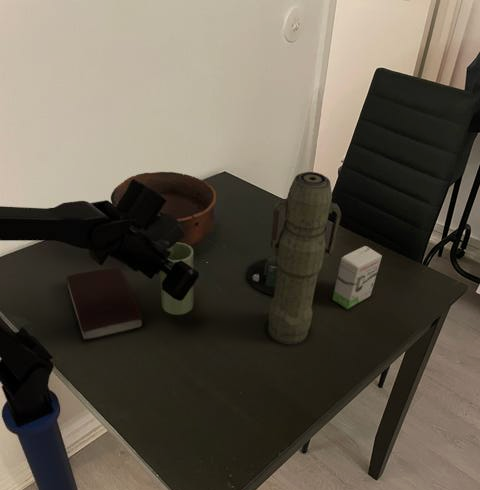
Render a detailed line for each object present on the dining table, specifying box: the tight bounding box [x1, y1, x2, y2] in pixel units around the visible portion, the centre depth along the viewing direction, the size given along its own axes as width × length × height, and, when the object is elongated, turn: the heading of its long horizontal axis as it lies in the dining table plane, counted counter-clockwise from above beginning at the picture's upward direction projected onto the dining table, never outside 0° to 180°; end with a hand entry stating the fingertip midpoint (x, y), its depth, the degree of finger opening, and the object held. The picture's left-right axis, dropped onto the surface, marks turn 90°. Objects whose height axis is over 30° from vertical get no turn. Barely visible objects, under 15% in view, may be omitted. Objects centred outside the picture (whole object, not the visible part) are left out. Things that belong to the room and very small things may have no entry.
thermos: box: [267, 171, 342, 345], centre depth 97 cm, size 9×12×35 cm
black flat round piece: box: [247, 253, 278, 297], centre depth 121 cm, size 15×15×6 cm
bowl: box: [110, 171, 218, 249], centre depth 124 cm, size 25×25×15 cm
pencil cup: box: [159, 242, 194, 316], centre depth 99 cm, size 6×6×13 cm
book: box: [66, 266, 144, 342], centre depth 110 cm, size 12×19×3 cm, turn 23°
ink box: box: [332, 245, 383, 310], centre depth 114 cm, size 9×5×12 cm, turn 130°
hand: (182, 276), depth 100 cm, fingers closed on pencil cup, 6 cm apart
